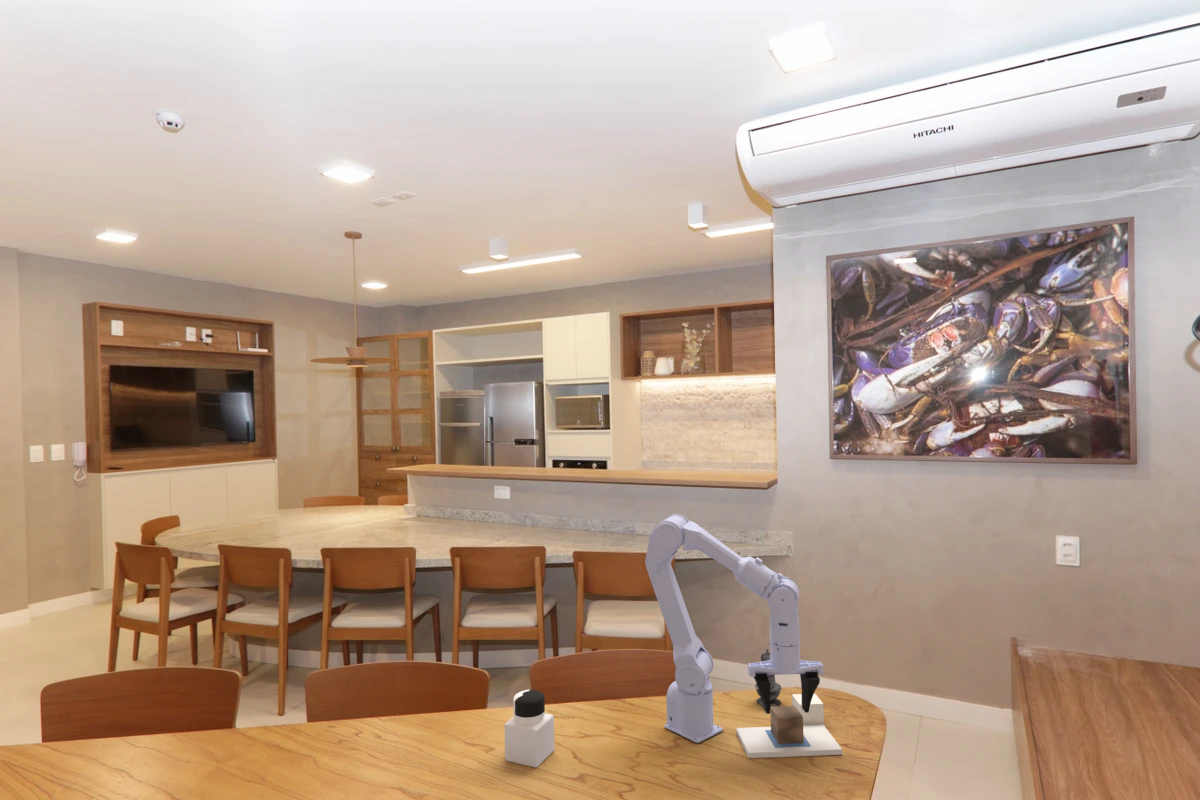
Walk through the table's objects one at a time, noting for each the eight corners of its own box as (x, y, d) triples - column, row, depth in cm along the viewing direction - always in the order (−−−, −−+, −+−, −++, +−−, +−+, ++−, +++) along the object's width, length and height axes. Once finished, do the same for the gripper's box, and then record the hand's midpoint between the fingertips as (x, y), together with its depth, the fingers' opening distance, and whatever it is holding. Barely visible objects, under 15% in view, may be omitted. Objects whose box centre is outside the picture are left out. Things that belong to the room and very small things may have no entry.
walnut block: (778, 743, 131) (777, 717, 131) (771, 731, 136) (770, 706, 136) (803, 743, 131) (803, 717, 131) (795, 730, 136) (795, 705, 136)
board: (748, 758, 128) (748, 752, 128) (736, 732, 138) (736, 727, 138) (842, 754, 129) (842, 748, 129) (823, 729, 139) (823, 724, 139)
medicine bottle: (555, 750, 133) (553, 689, 133) (536, 768, 126) (535, 704, 126) (523, 743, 136) (522, 683, 136) (504, 761, 129) (503, 698, 129)
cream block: (800, 728, 139) (799, 704, 139) (792, 717, 144) (792, 694, 144) (824, 728, 140) (823, 703, 140) (815, 717, 145) (815, 693, 145)
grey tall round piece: (785, 708, 149) (783, 653, 149) (758, 708, 149) (756, 653, 149) (778, 696, 155) (777, 644, 155) (752, 697, 155) (751, 644, 155)
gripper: (814, 634, 138) (815, 701, 138) (743, 635, 137) (744, 703, 137) (826, 646, 131) (828, 716, 131) (752, 648, 130) (753, 719, 130)
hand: (786, 710), depth 133 cm, fingers open, 7 cm apart
